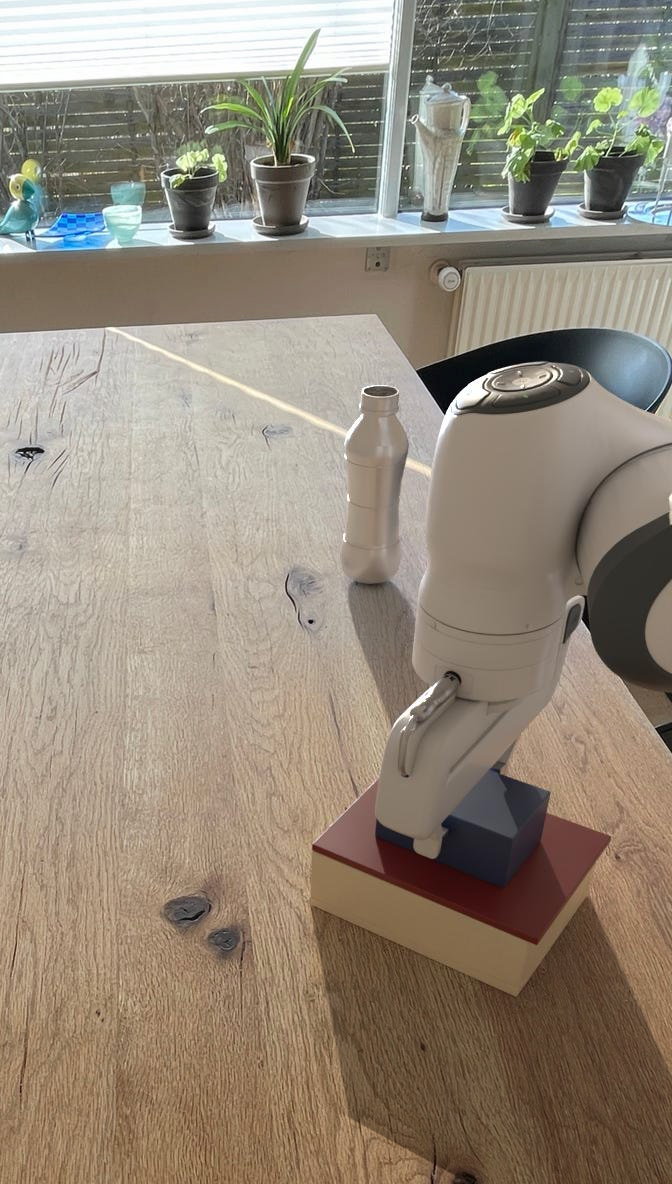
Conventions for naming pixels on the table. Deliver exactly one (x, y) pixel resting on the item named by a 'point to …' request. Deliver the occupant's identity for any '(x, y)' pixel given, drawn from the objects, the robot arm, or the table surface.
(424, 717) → the robot arm
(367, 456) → the plastic bottle
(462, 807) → the dark grey brick
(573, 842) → the cover
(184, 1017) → the table surface
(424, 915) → the beige open box
